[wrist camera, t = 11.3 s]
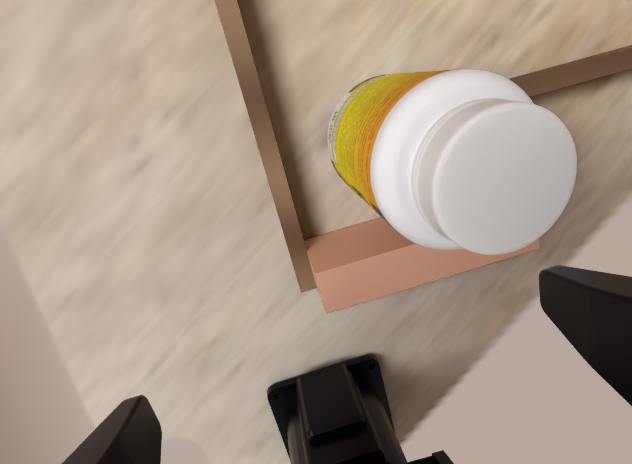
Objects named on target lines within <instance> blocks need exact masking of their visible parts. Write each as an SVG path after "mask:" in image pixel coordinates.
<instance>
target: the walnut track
mask: <svg viewBox="0 0 632 464" xmlns="http://www.w3.org/2000/svg"><path fill="white" fill-rule="evenodd" d="M215 2H216V6H217V9H218V13H219V16H220V19H221V23H222V26H223V30H224V33H225V36H226V40H227V43H228V46H229V50H230V53H231V57H232V60H233V63H234V67H235V70H236V74H237V77H238V80H239V84H240V87H241V90H242V94H243V97H244V101H245V104H246V107H247V111H248V114H249V117H250V121H251V124H252V128H253V131H254V134H255V138H256V141H257V145H258V148H259V151H260V155H261V158H262V161H263V165H264V168H265V172H266V175H267V178H268V182H269V185H270V189H271V192H272V195H273V199H274V202H275V205H276V209H277V212H278V216H279V219H280V222H281V226H282V229H283V233H284V236H285V239H286V243H287V246H288V249H289V253H290V256H291V260H292V263H293V266H294V270H295V273H296V277H297V280H298V283H299V287H300V290H301V292H305V291H308V290H311V289H315V288H317V286H316V282H315V279H314V275H313V272H312V268H311V264H310V261H309V257H308V254H307V250H306V247H305V243H304V239H303V236H302V232H301V229H300V225H299V221H298V218H297V214H296V211H295V207H294V203H293V200H292V196H291V193H290V189H289V185H288V182H287V178H286V175H285V171H284V167H283V164H282V160H281V157H280V153H279V150H278V146H277V142H276V139H275V135H274V132H273V128H272V124H271V121H270V117H269V114H268V110H267V106H266V103H265V99H264V96H263V92H262V88H261V85H260V81H259V78H258V74H257V70H256V67H255V63H254V60H253V56H252V53H251V49H250V45H249V42H248V38H247V35H246V31H245V27H244V24H243V20H242V17H241V13H240V9H239V6H238V2H237V0H215ZM631 68H632V45H631V46H627V47H623V48H620V49H616V50H613V51H609V52H605V53H602V54H598V55H594V56H591V57H587V58H583V59H580V60H576V61H573V62H569V63H565V64H562V65H558V66H554V67H551V68H547V69H544V70H540V71H536V72H533V73H529V74H525V75H522V76H518V77H515V78H511V79H509V80H511V81H512V82H514V83H515V84H516V85H518V86H519V87H520V88H521V89H522V90H523V91H524V92H525V93H526V94H527V95H528V96H529V97H531V96H534V95H538V94H542V93H545V92H549V91H552V90H556V89H559V88H563V87H567V86H570V85H574V84H577V83H581V82H585V81H588V80H592V79H595V78H599V77H602V76H606V75H610V74H613V73H617V72H620V71H624V70H627V69H631Z"/></svg>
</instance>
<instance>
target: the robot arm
mask: <svg viewBox="0 0 632 464" xmlns="http://www.w3.org/2000/svg"><path fill="white" fill-rule="evenodd" d="M539 290H540V303H541V306H542V309H543V310H544V312H545V313H546V314H547V316H548V317H549V318H550V319H551V320H552V322H553V323H554V324H555V325H556V326H557V328H559V330H560V331H561V332H562V333H563V335H564V336H565V337H566V338H567V339H568V341H569V342H570V343H571V344H572V345H573V346H574V348H575V349H576V350H577V351H578V352H579V353H580V355H581V356H582V357H583V358H584V359H585V360H586V361H587V362H588V364H590V366H591V367H592V368H593V369H594V370H595V371H596V372H597V373H598V374H599V375H600V376H601V377H602V378H604V380H605V381H606V382H607V383H609V384H610V385H611V386H612V387H613V388H614V389H615V390H616V391H617V392H618V393H619V394H620V395H621V396H622V397H623V398H624V399H625V400H626V401H627V402H628V403H629V404H630V405H631V406H632V277H629V276H622V275H616V274H609V273H604V272H597V271H591V270H585V269H579V268H573V267H566V266H554V267H551V268H547V269H544V270H542V271H541V272H540V274H539ZM368 363H372V364H371V365H369V366H366V365H367V364H368ZM277 392H278V393H279V394H278V395H273V394H274V393H277ZM267 396H268V401H269V404H270V406H271V409H272V412H273V414H274V417H275V420H276V423H277V425H278V428H279V431H280V433H281V436H282V439H283V442H284V444H285V447H286V450H287V452H288V455H289V458H290V461H291V464H453V462H452V461H451V460H450V458H449V457H448V456H447V455H446V453H445V452H444V451H443V450H442V451H439V452H435V453H432V456H429V457H426V458H422V459H418V460H415V461H411V462H407V460H406V458H405V456H404V453H403V451H402V449H401V447H400V444H399V442H398V440H397V437H396V435H395V431H394V426H393V422H392V418H391V413H390V409H389V405H388V401H387V396H386V392H385V388H384V384H383V379H382V375H381V371H380V366H379V363H378V361H377V359H376V357H375V356H374V355H365V356H362V357H359V358H356V359H353V360H349V361H346V362H343V363H340V364H337V365H334V366H330V367H327V368H324V369H321V370H318V371H315V372H311V373H308V374H305V375H302V376H299V377H296V378H292V379H289V380H286V381H283V382H280V383H277V384H273V385H271V386H270V387H269V388H268V390H267ZM161 439H162V431H161V426H160V423H159V421H158V419H157V417H156V415H155V413H154V411H153V409H152V407H151V405H150V403H149V401H148V399H147V398H146V397H145V396H143V395H139V396H136V397H133V398H129V399H126V400H124V401H123V402H121V403H120V404H119V405H118V407H117V408H116V409H115V410H114V411H113V412H112V413H111V414H110V415H109V416H108V417H107V418H106V419H105V420H104V421H103V422H102V423H101V424H100V425H99V426H98V427H97V428H96V429H95V430H94V431H93V432H92V433H91V434H90V435H89V436H88V437H87V438H86V439H85V440H84V441H83V442H82V444H80V445H79V447H78V448H77V449H76V450H75V451H74V452H73V453H72V454H71V455H70V456H69V457H68V458H67V459H66V460H65V461H64V462H63V463H62V464H160V460H161Z"/></svg>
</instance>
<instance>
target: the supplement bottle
mask: <svg viewBox="0 0 632 464" xmlns="http://www.w3.org/2000/svg"><path fill="white" fill-rule="evenodd" d="M328 150H329V155H330V158H331V161H332V164H333V166H334V168H335V170H336V171H337V173H338V174H339V176H340V177H341V178H342V179H343V180H344V182H345V183H346V184H347V185H348V186H349V187H350V188H351V189H353V190H354V191H355V192H356V193H357V194H358V195H359V196H360V197H361V198H362V199H363V200H364V201H365V202H366V203H367V204H368V205H370V206H371V207H372V208H373V209H374V210H375V211H376V212H377V213H378V214H379V215H380V216H381V217H382V218H383V219H384V220H385V221H386V222H387V223H388V224H389V225H390V226H391V227H393V228H394V229H395V230H396V231H397V232H399V233H400V234H401V235H403V236H404V237H405V238H407V239H409V240H410V241H412V242H414V243H416V244H418V245H421V246H424V247H427V248H431V249H437V250H459V249H466V250H468V251H471V252H474V253H478V254H483V255H500V254H505V253H510V252H513V251H516V250H518V249H521V248H523V247H526V246H527V245H529V244H531V243H532V242H534V241H535V240H537V239H538V238H540V237H541V236H542V235H543V234H545V233H546V232H547V231H548V230H549V229H550V228H551V227H552V226H553V224H554V223H555V222H556V221H557V220H558V218H559V217H560V215H561V214H562V213H563V211H564V209H565V207H566V206H567V204H568V202H569V199H570V197H571V195H572V192H573V189H574V186H575V181H576V175H577V155H576V149H575V145H574V142H573V139H572V136H571V134H570V132H569V131H568V129H567V127H566V126H565V125H564V123H563V122H562V121H561V120H560V119H559V118H558V117H557V116H556V115H555V114H554V113H552V112H551V111H549V110H547V109H546V108H543V107H541V106H539V105H536V104H534V103H533V102H532V100H531V99H530V97H529V96H528V95H527V94H526V93H525V92H524V91H523V90H522V89H521V88H520V87H519V86H518V85H516V84H515V83H514V82H512V81H511V80H509V79H508V78H506V77H503V76H501V75H499V74H496V73H493V72H489V71H485V70H476V69H456V70H444V71H431V72H415V73H401V74H388V75H381V76H376V77H373V78H370V79H367V80H365V81H363V82H361V83H359V84H357V85H356V86H355V87H353V88H352V89H351V90H350V91H348V92H347V93H346V95H345V96H344V97H343V98H342V99H341V100H340V102H339V103H338V105H337V107H336V108H335V110H334V112H333V115H332V117H331V120H330V124H329V128H328Z"/></svg>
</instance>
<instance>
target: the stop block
mask: <svg viewBox="0 0 632 464" xmlns="http://www.w3.org/2000/svg"><path fill="white" fill-rule="evenodd" d="M304 243H305V247H306V250H307V254H308V257H309V261H310V264H311V268H312V272H313V275H314V279H315V282H316V286H317V289H318V292H319V295H320V298H321V300H322V303H323V306H324V309H325V311H326V314H328V313H331V312H334V311H338V310H341V309H344V308H347V307H351V306H354V305H357V304H360V303H364V302H367V301H370V300H374V299H377V298H380V297H383V296H387V295H390V294H393V293H396V292H400V291H403V290H406V289H409V288H413V287H416V286H419V285H422V284H426V283H429V282H432V281H436V280H439V279H442V278H445V277H449V276H452V275H455V274H458V273H462V272H465V271H468V270H471V269H475V268H478V267H481V266H484V265H488V264H491V263H494V262H497V261H501V260H504V259H507V258H511V257H514V256H517V255H520V254H524V253H527V252H530V251H533V250H537V249H540V241H539V238H538V239H537V240H535V241H534V242H532V243H531V244H529V245H527V246H526V247H523V248H521V249H518V250H516V251H513V252H510V253H505V254H500V255H483V254H478V253H474V252H471V251H468V250H466V249H459V250H437V249H431V248H427V247H424V246H421V245H418V244H416V243H414V242H412V241H410V240H409V239H407V238H405V237H404V236H403V235H401V234H400V233H399V232H397V231H396V230H395V229H394V228H393V227H391V226H390V225H389V224H388V223H387V222H386V221H385V220H384V219H383V218H382V217H381V218H378V219H374V220H371V221H367V222H364V223H361V224H357V225H354V226H350V227H347V228H343V229H340V230H337V231H333V232H330V233H326V234H323V235H320V236H316V237H313V238H309V239H306V240H304Z"/></svg>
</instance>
